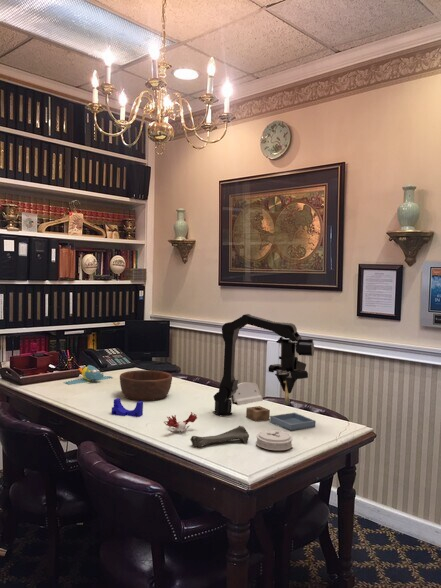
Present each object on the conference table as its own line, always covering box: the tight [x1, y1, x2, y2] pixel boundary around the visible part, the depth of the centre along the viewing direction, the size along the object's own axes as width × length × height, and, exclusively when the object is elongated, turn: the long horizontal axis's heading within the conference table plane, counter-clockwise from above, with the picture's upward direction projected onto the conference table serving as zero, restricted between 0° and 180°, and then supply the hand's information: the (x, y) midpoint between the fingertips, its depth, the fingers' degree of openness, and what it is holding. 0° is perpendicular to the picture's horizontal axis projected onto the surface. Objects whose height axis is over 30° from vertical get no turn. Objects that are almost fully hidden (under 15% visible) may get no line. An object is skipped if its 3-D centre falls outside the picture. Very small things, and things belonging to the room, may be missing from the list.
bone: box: [189, 425, 250, 448], centre depth 175 cm, size 22×6×6 cm, turn 115°
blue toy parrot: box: [63, 364, 114, 386], centre depth 266 cm, size 28×9×15 cm
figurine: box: [163, 411, 198, 433], centre depth 188 cm, size 15×12×7 cm
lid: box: [255, 429, 293, 451], centre depth 175 cm, size 13×13×5 cm
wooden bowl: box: [119, 369, 173, 402], centre depth 239 cm, size 25×25×10 cm
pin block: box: [245, 405, 271, 423], centre depth 209 cm, size 7×7×4 cm
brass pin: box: [283, 380, 290, 406], centre depth 203 cm, size 3×3×10 cm
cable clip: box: [111, 397, 144, 418], centre depth 206 cm, size 12×4×6 cm, turn 74°
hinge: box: [230, 381, 264, 406], centre depth 237 cm, size 17×5×10 cm, turn 130°
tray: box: [269, 412, 317, 432], centre depth 202 cm, size 13×13×2 cm
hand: (287, 392), depth 203 cm, fingers closed on brass pin, 3 cm apart
